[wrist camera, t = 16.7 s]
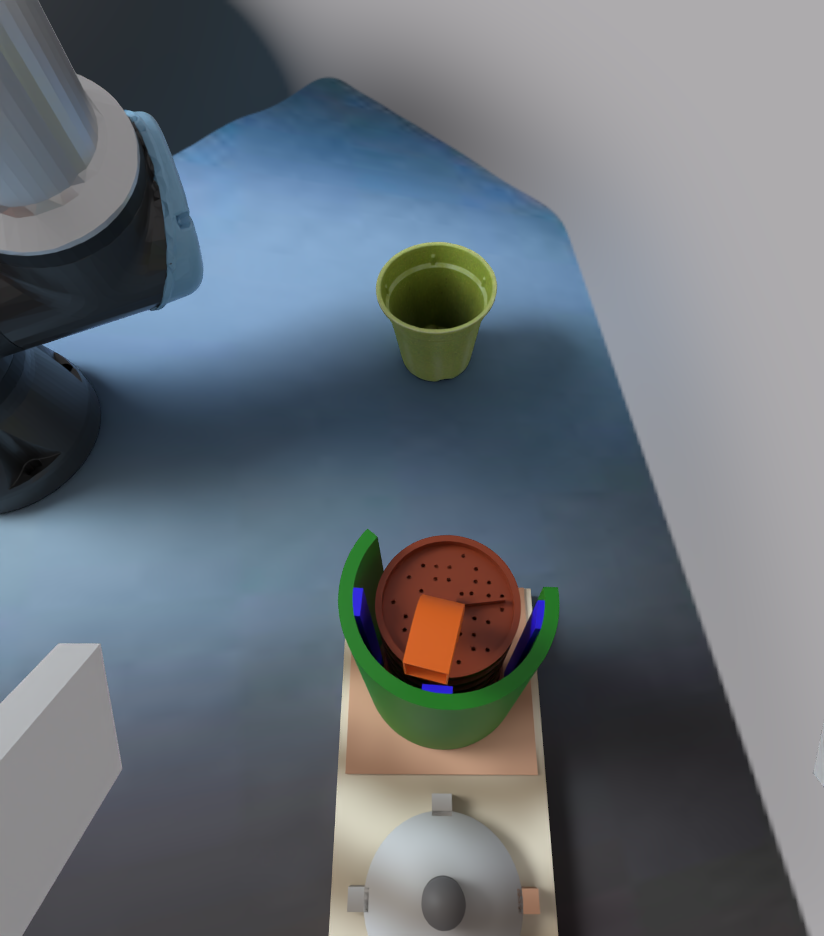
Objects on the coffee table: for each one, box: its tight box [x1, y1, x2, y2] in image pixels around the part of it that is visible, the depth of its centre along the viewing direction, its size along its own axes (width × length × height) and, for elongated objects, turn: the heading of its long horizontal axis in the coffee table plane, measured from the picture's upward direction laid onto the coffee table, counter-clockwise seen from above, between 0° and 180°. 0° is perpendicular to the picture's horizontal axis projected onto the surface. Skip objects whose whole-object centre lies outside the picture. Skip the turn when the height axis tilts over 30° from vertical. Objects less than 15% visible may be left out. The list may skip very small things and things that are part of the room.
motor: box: [338, 529, 559, 750], centre depth 35 cm, size 10×9×20 cm
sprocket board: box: [329, 588, 558, 936], centre depth 40 cm, size 24×13×4 cm, turn 0°
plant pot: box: [376, 242, 497, 381], centre depth 55 cm, size 9×9×9 cm
